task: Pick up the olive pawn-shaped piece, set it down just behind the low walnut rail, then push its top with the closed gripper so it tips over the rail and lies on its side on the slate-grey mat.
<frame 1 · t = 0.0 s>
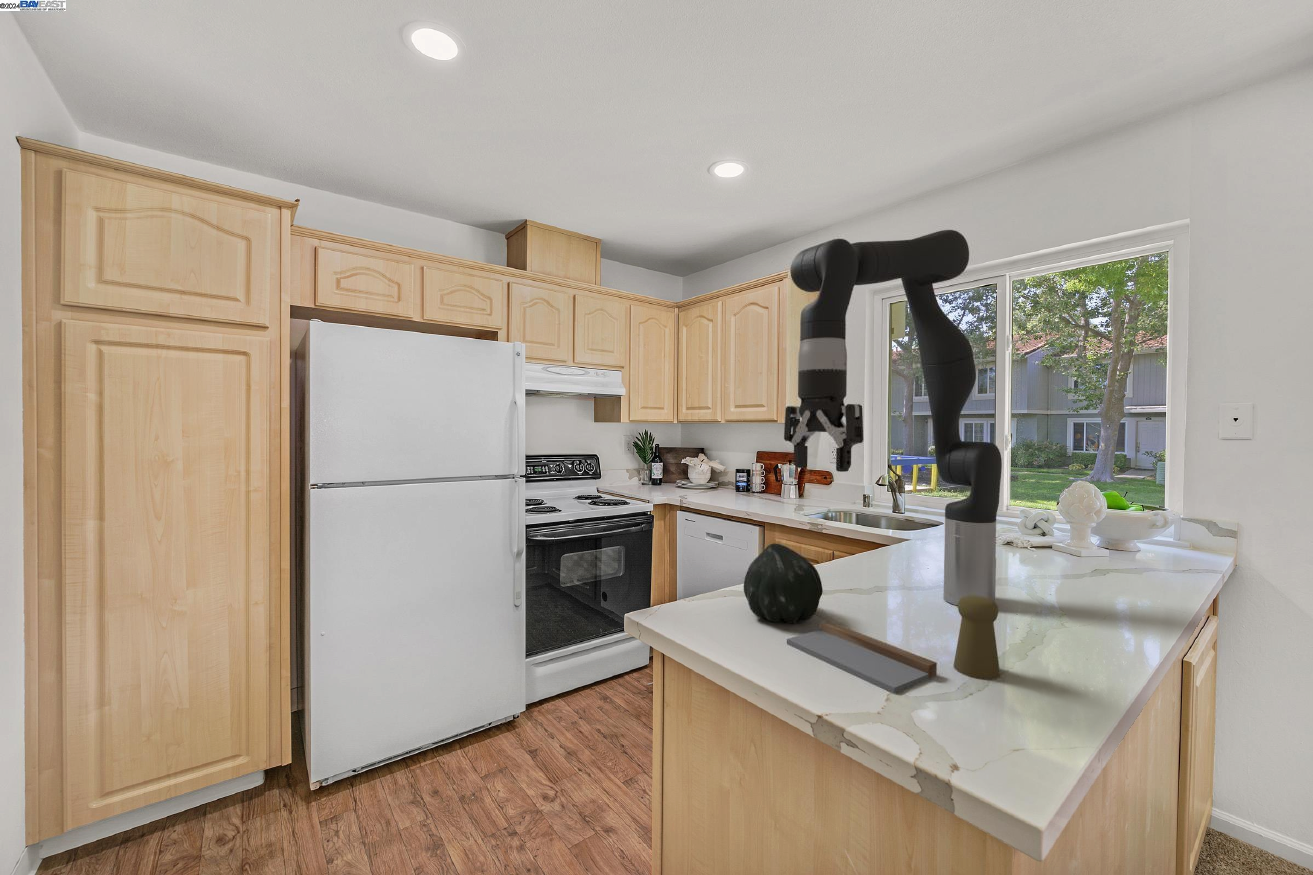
hand: (820, 469, 90), 29 cm above the counter, fingers open, 8 cm apart
olive pawn-shaped piece: (976, 671, 83), on the counter
slate mat: (852, 660, 86), on the counter
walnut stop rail: (872, 653, 89), on the counter
squash: (782, 617, 105), on the counter
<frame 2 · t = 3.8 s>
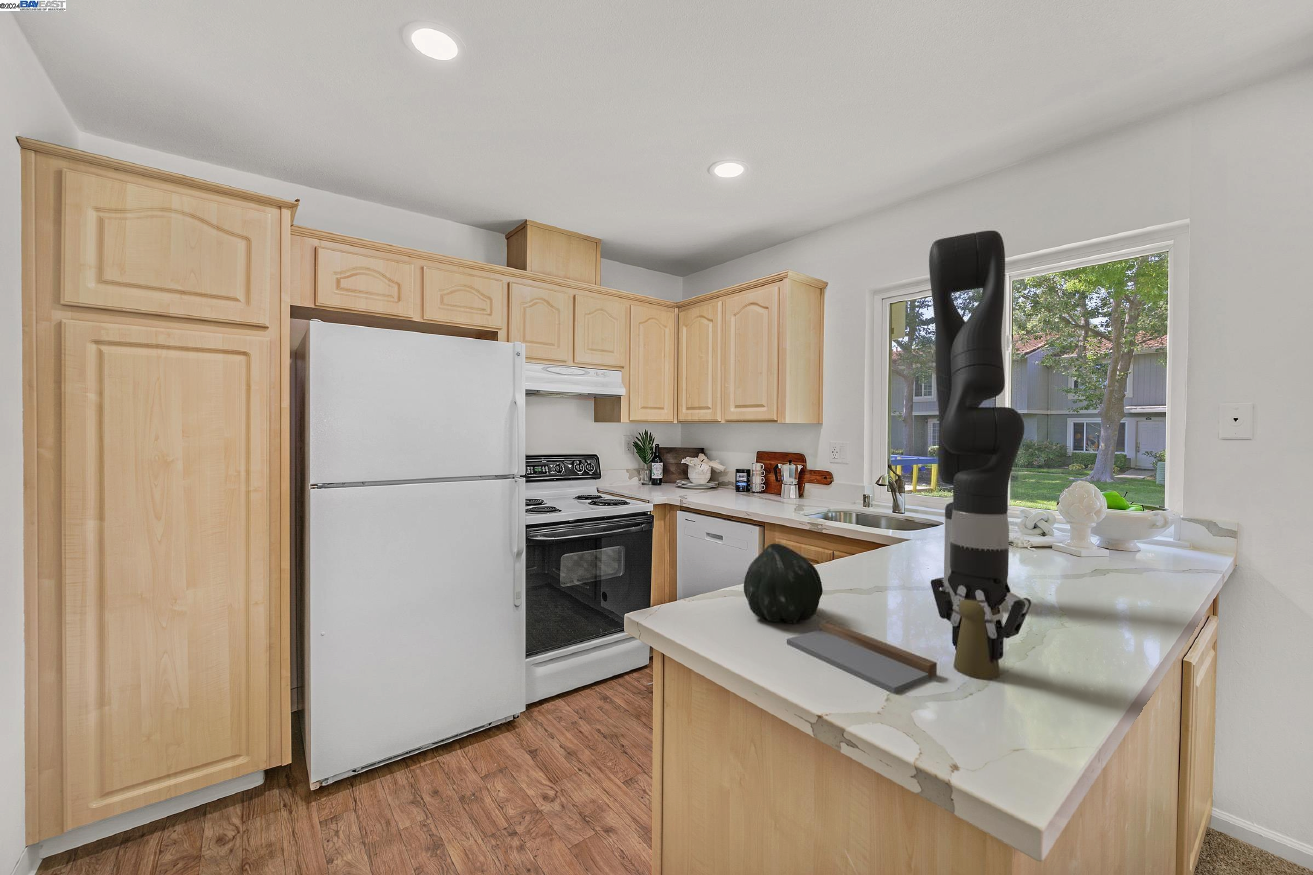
hand: (976, 655, 83), 2 cm above the counter, fingers closed on olive pawn-shaped piece, 4 cm apart
olive pawn-shaped piece: (976, 671, 83), on the counter, touching gripper
everything else where it was.
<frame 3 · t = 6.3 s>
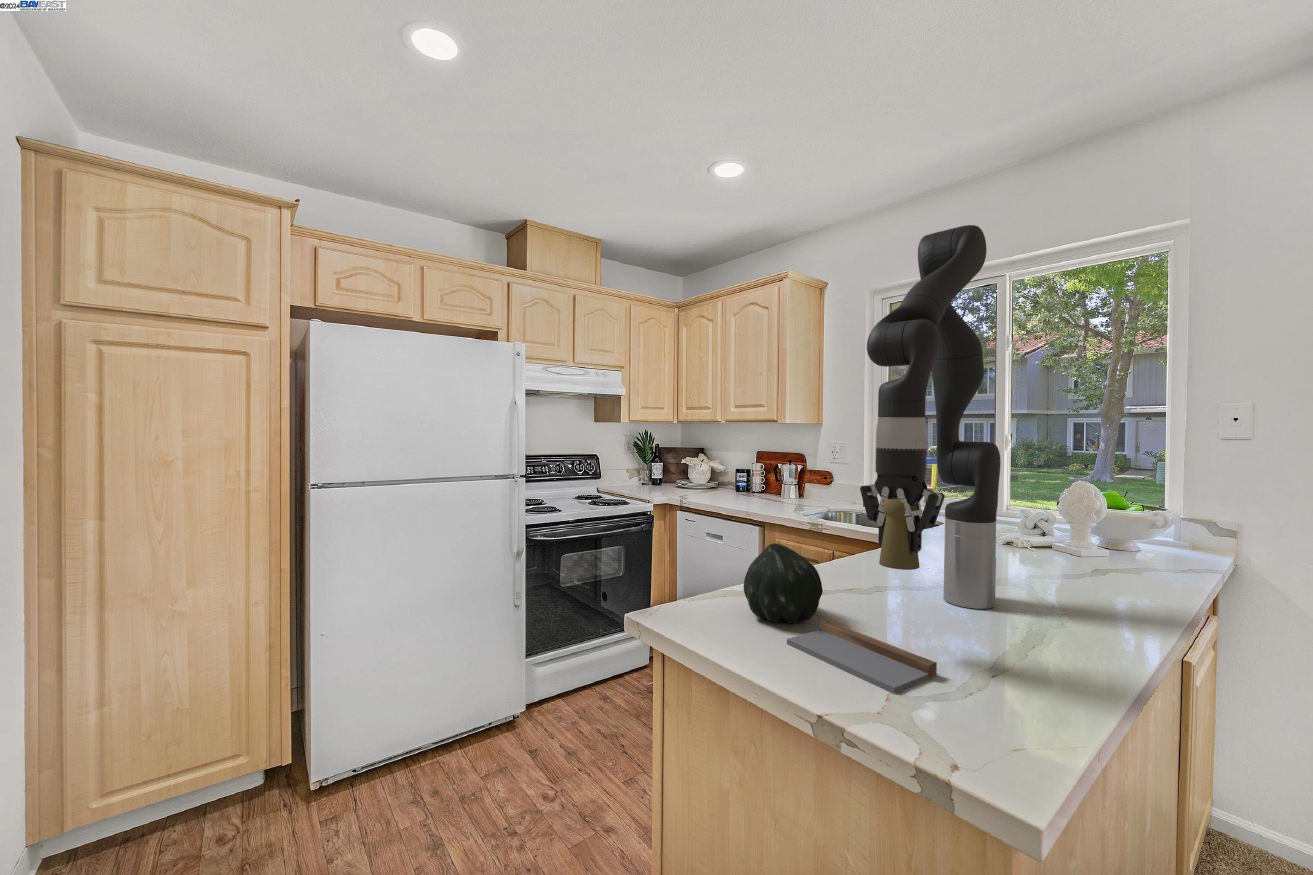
hand: (899, 550, 90), 16 cm above the counter, fingers closed on olive pawn-shaped piece, 4 cm apart
olive pawn-shaped piece: (898, 566, 90), point 14 cm above the counter, touching gripper
everything else where it was.
when the fingers open (4 cm above the counter, at t = 9.1 s): olive pawn-shaped piece drops 1 cm, on the counter.
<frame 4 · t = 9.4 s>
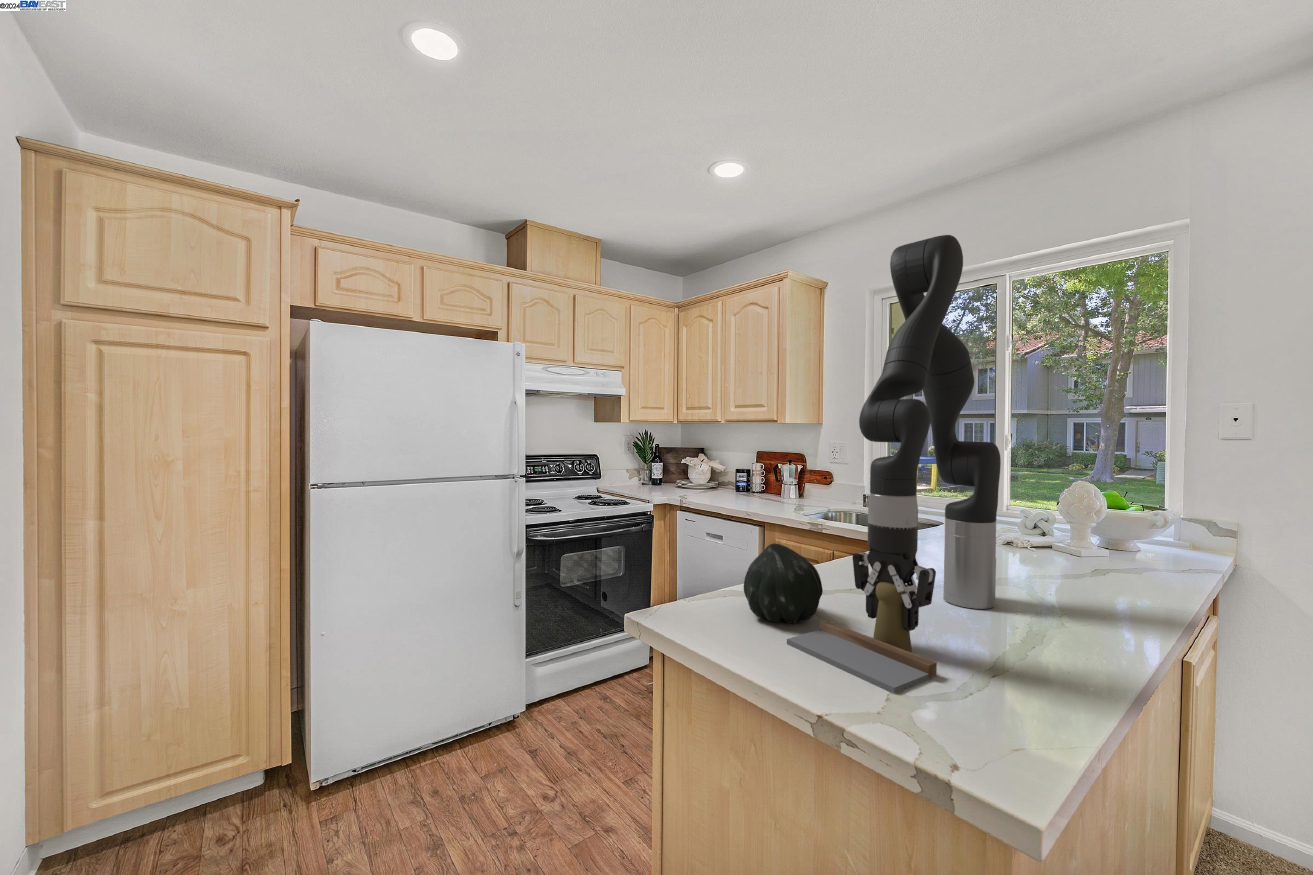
hand: (890, 622, 91), 4 cm above the counter, fingers open, 6 cm apart
olive pawn-shaped piece: (891, 649, 91), on the counter
everything else where it was.
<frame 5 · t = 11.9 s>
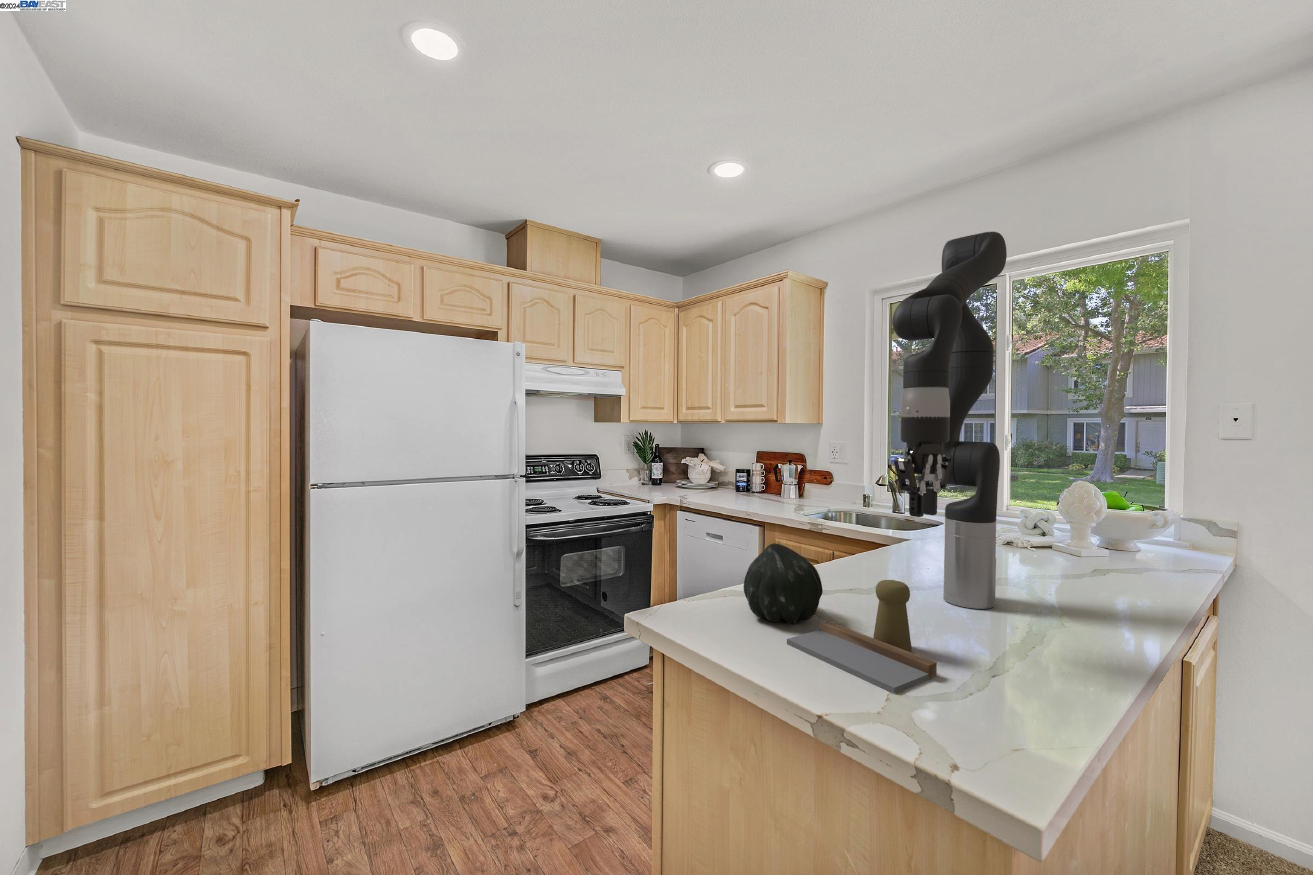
hand: (923, 514, 95), 21 cm above the counter, fingers open, 3 cm apart
nothing on the counter moved.
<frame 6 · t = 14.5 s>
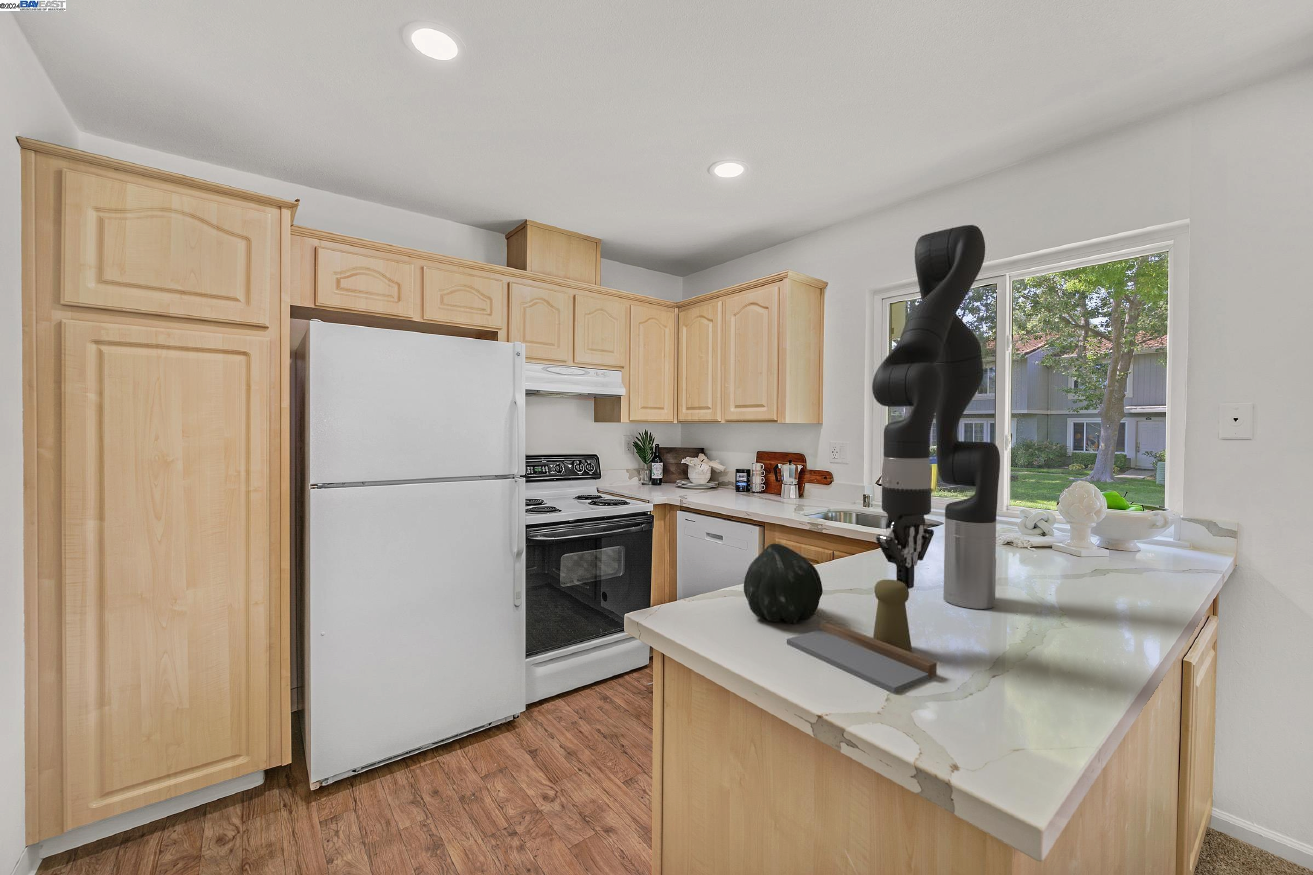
hand: (905, 587, 93), 9 cm above the counter, fingers closed
olive pawn-shaped piece: (891, 648, 91), on the counter, touching gripper
everything else where it was.
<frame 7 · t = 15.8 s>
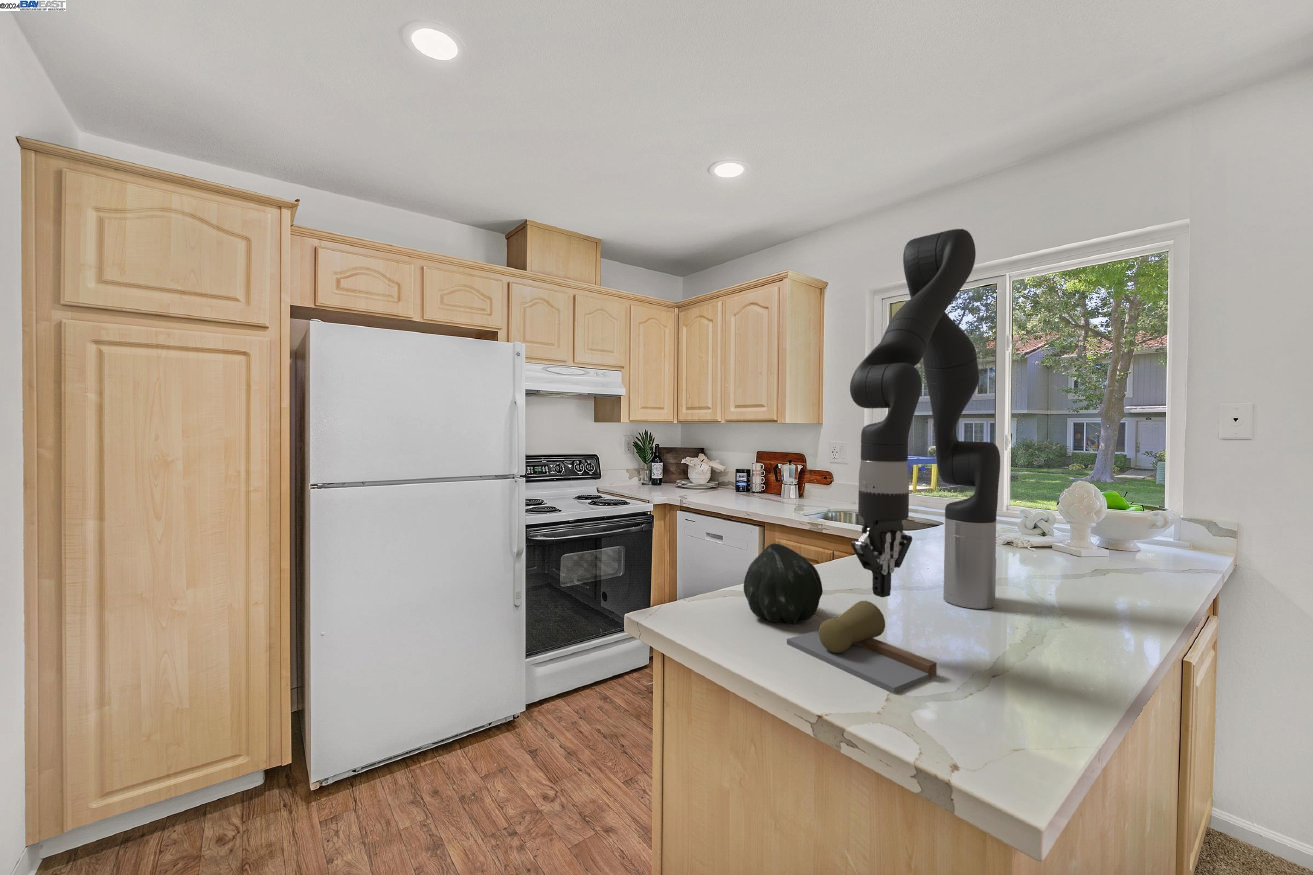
hand: (881, 595, 89), 9 cm above the counter, fingers closed
olive pawn-shaped piece: (869, 618, 93), point 4 cm above the counter, touching slate mat, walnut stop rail
everything else where it was.
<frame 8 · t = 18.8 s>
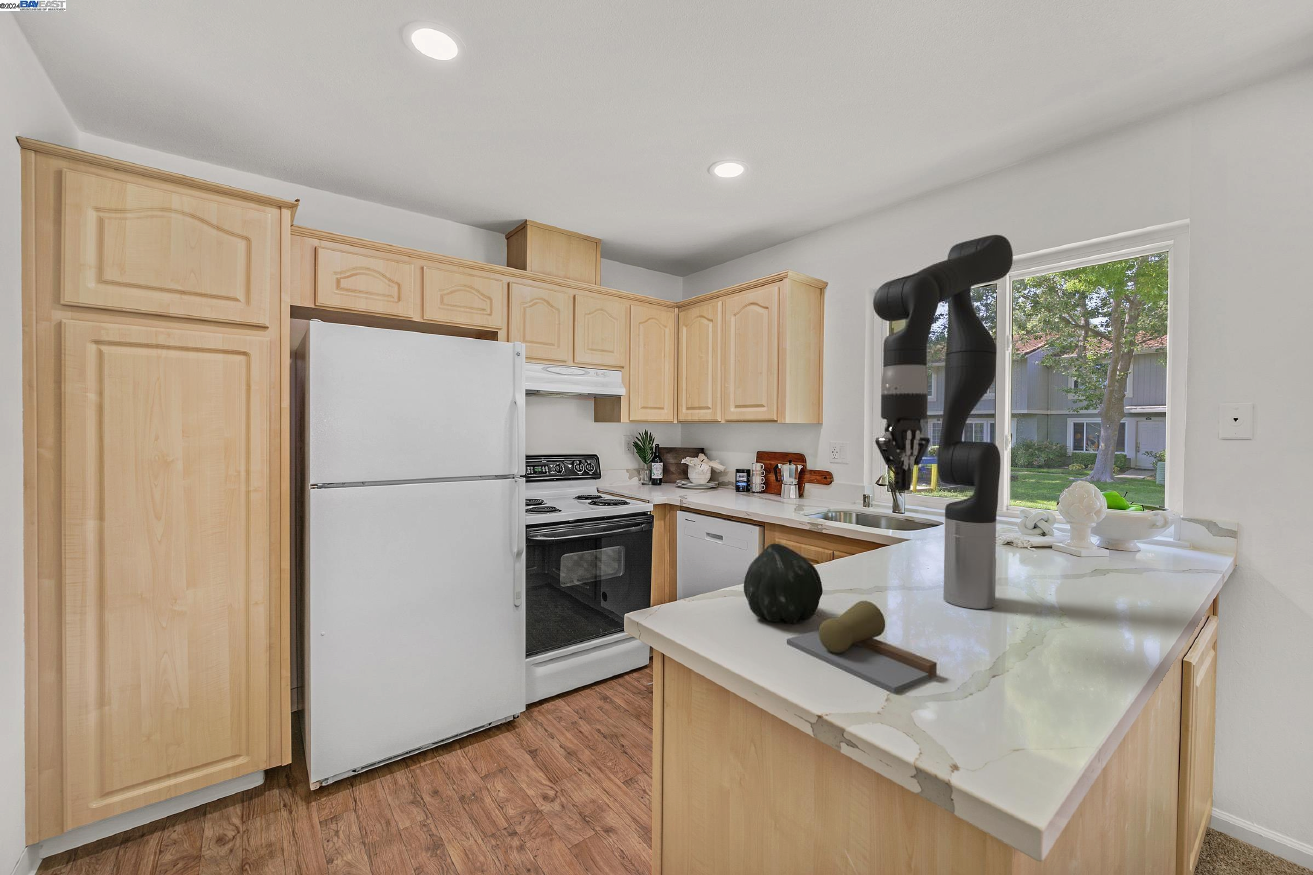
hand: (902, 490, 98), 25 cm above the counter, fingers closed
olive pawn-shaped piece: (869, 618, 93), point 4 cm above the counter, touching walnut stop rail
everything else where it was.
at the end: olive pawn-shaped piece tilted 94°; olive pawn-shaped piece inside the target area (3.7 cm from its centre), point 4.1 cm above the counter; the gripper is holding nothing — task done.
